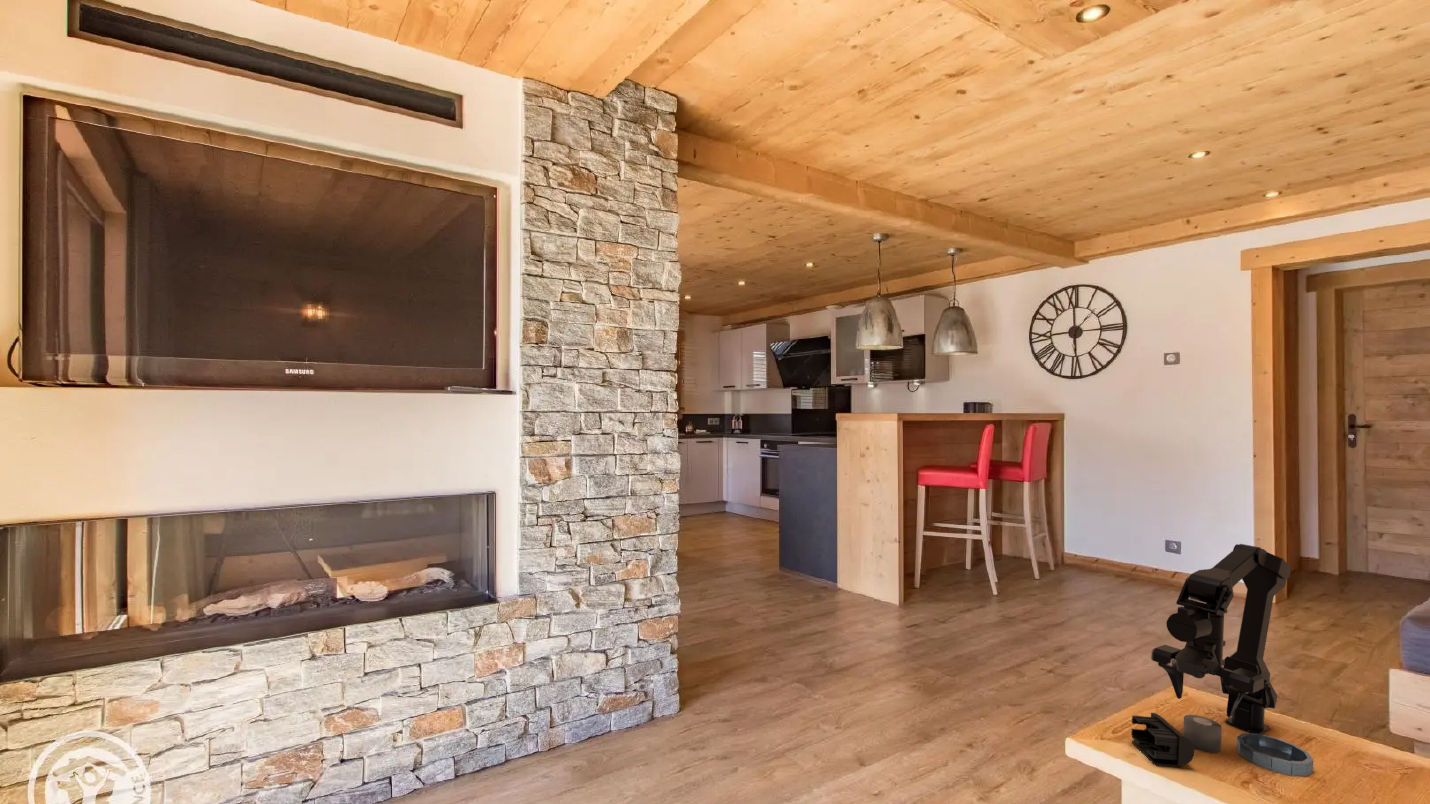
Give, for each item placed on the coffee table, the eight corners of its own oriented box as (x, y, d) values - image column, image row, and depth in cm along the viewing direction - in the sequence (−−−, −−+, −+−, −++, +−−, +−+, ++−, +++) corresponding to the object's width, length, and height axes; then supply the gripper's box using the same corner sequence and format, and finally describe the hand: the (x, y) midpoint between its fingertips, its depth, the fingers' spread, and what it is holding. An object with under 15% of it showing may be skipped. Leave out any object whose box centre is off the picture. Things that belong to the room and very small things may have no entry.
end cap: (1194, 771, 129) (1195, 737, 129) (1156, 767, 129) (1157, 733, 129) (1165, 744, 139) (1166, 713, 139) (1129, 741, 139) (1131, 710, 139)
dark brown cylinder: (1191, 734, 144) (1192, 711, 144) (1226, 748, 138) (1227, 724, 138) (1177, 741, 140) (1178, 717, 140) (1212, 756, 135) (1213, 731, 135)
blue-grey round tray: (1251, 739, 142) (1251, 728, 142) (1320, 766, 132) (1321, 754, 132) (1227, 752, 136) (1227, 741, 136) (1298, 781, 126) (1299, 769, 126)
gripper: (1140, 626, 143) (1137, 696, 143) (1242, 656, 127) (1239, 736, 127) (1165, 619, 149) (1162, 686, 149) (1266, 647, 133) (1263, 723, 133)
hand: (1203, 707), depth 139 cm, fingers open, 9 cm apart
